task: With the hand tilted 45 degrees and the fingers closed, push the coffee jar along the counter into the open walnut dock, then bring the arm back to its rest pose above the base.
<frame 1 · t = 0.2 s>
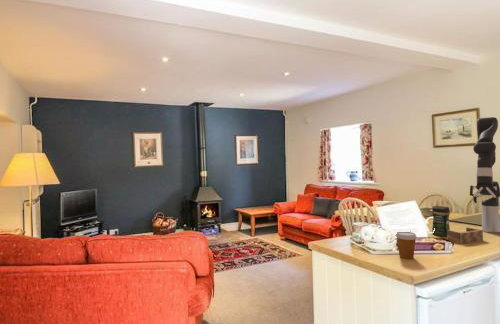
hand: (484, 203, 186), 22 cm above the worktop, tool pointing down, fingers open, 8 cm apart
disposable coffee cup: (406, 257, 162), on the worktop
coffee jar: (441, 235, 206), on the worktop
dock: (460, 239, 194), on the worktop
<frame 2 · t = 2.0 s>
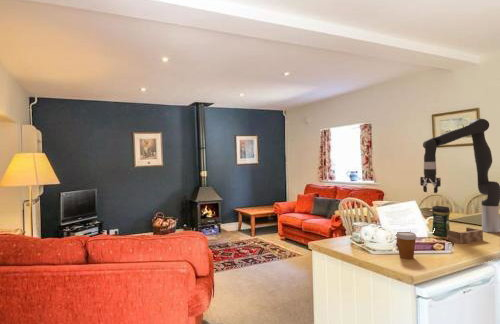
hand: (430, 192, 221), 26 cm above the worktop, tool pointing down, fingers open, 7 cm apart
nothing on the worktop moved.
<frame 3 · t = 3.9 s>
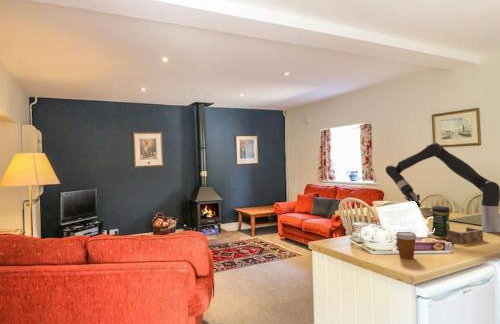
hand: (419, 206, 221), 16 cm above the worktop, tool tilted 45°, fingers closed
nothing on the worktop moved.
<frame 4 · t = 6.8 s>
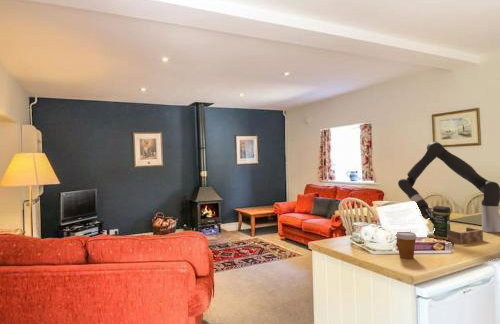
hand: (435, 223, 210), 7 cm above the worktop, tool tilted 45°, fingers closed
coffee jar: (441, 235, 206), on the worktop, touching gripper
everything else where it was.
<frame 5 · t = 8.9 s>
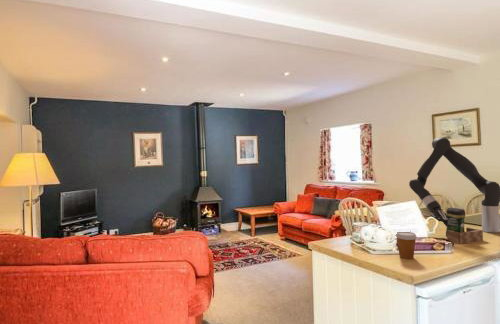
hand: (448, 225, 201), 7 cm above the worktop, tool tilted 45°, fingers closed
coffee jar: (455, 238, 197), on the worktop, touching gripper
everything else where it was.
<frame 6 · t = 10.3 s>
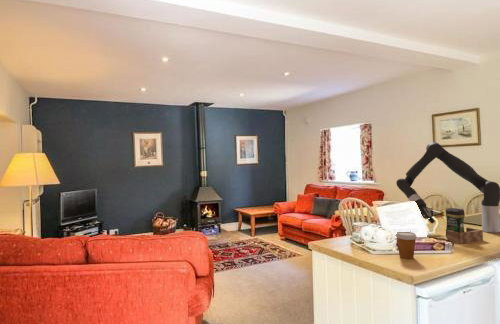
hand: (433, 222, 211), 7 cm above the worktop, tool tilted 45°, fingers closed
coffee jar: (455, 238, 197), on the worktop
everything else where it was.
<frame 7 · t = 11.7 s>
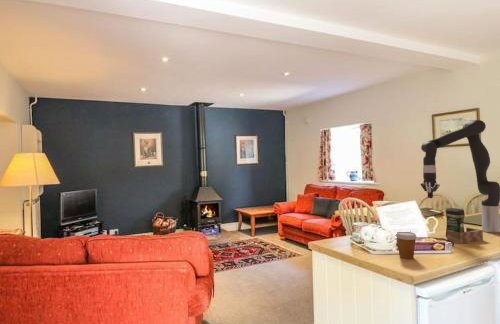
hand: (430, 198, 213), 23 cm above the worktop, tool pointing down, fingers closed
nothing on the worktop moved.
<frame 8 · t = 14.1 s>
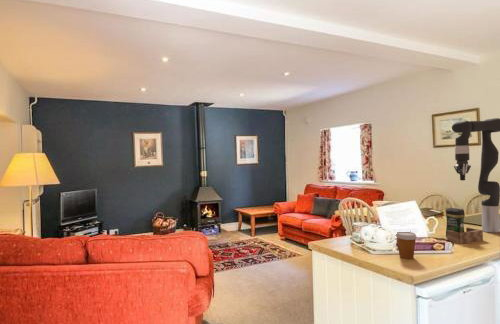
hand: (462, 180, 204), 35 cm above the worktop, tool pointing down, fingers closed
nothing on the worktop moved.
at the end: coffee jar inside the target area on the dock (1.3 cm from its centre), point 0.0 cm above the dock's base; coffee jar tilted 0°; coffee jar moved 9.9 cm from its start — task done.
